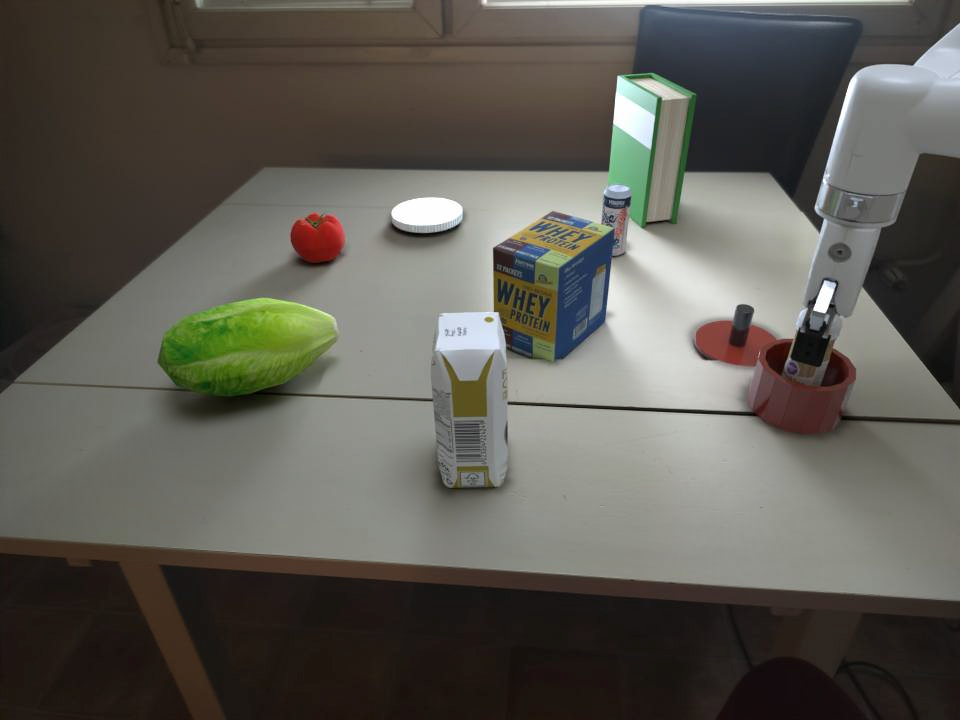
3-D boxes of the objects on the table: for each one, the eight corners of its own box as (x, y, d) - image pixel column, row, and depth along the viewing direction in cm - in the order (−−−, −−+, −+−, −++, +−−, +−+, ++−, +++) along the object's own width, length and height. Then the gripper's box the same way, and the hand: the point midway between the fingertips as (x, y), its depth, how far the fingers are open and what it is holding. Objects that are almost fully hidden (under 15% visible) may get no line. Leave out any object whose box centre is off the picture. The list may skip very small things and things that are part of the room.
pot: (818, 386, 87) (835, 338, 83) (852, 441, 78) (872, 391, 74) (736, 385, 88) (748, 338, 83) (760, 440, 79) (774, 390, 75)
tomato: (351, 246, 125) (346, 209, 120) (339, 268, 118) (332, 229, 113) (303, 245, 126) (296, 208, 121) (287, 267, 118) (279, 228, 114)
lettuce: (352, 391, 89) (339, 316, 82) (170, 432, 83) (140, 355, 76) (336, 341, 99) (323, 270, 92) (172, 375, 93) (146, 302, 86)
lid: (764, 326, 99) (775, 287, 95) (791, 373, 90) (803, 331, 86) (685, 326, 100) (692, 287, 96) (703, 372, 90) (712, 331, 86)
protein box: (492, 344, 97) (490, 247, 88) (549, 300, 107) (553, 209, 98) (553, 369, 92) (558, 268, 83) (607, 320, 101) (617, 225, 92)
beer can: (593, 253, 120) (599, 189, 113) (605, 243, 123) (611, 180, 116) (618, 259, 118) (625, 194, 111) (629, 249, 121) (637, 185, 114)
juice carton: (439, 498, 73) (426, 355, 62) (442, 445, 80) (431, 308, 69) (508, 497, 72) (508, 353, 61) (505, 443, 79) (505, 306, 69)
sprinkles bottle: (764, 405, 83) (791, 313, 75) (787, 393, 85) (815, 302, 77) (796, 425, 80) (827, 331, 72) (820, 411, 82) (852, 318, 74)
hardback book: (676, 223, 130) (696, 94, 116) (641, 227, 129) (657, 97, 115) (639, 190, 144) (653, 72, 130) (606, 194, 143) (617, 75, 129)
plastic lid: (410, 243, 125) (409, 231, 124) (381, 218, 135) (380, 206, 134) (475, 227, 131) (474, 215, 129) (443, 204, 141) (442, 192, 139)
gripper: (890, 239, 59) (836, 391, 69) (909, 179, 71) (861, 316, 81) (800, 223, 63) (761, 369, 73) (833, 167, 75) (796, 300, 84)
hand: (814, 341), depth 77 cm, fingers open, 9 cm apart
